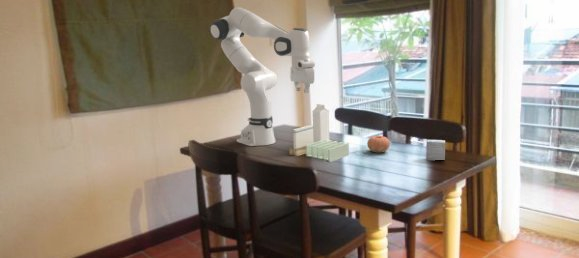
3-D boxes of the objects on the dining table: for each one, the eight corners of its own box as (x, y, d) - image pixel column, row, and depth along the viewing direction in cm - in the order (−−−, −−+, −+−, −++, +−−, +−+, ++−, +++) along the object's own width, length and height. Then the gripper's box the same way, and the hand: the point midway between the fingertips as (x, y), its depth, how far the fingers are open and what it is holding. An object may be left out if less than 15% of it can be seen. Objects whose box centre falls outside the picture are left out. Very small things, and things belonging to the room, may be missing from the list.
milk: (320, 148, 239) (319, 106, 234) (313, 146, 244) (311, 104, 239) (329, 146, 242) (328, 104, 238) (322, 144, 247) (321, 103, 242)
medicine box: (444, 158, 214) (445, 140, 212) (444, 161, 209) (445, 142, 208) (426, 157, 216) (427, 139, 214) (426, 160, 212) (426, 141, 210)
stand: (288, 155, 228) (288, 147, 227) (309, 148, 239) (309, 141, 238) (297, 157, 224) (297, 149, 223) (319, 150, 235) (318, 142, 234)
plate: (293, 153, 227) (293, 129, 225) (311, 148, 236) (310, 124, 234) (296, 154, 226) (295, 129, 223) (313, 148, 235) (313, 125, 233)
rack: (306, 157, 223) (305, 145, 222) (325, 150, 234) (325, 139, 233) (329, 162, 214) (329, 149, 213) (348, 155, 225) (348, 142, 224)
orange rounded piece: (380, 147, 237) (380, 132, 235) (394, 152, 227) (394, 136, 226) (362, 151, 232) (362, 135, 230) (376, 155, 222) (376, 139, 221)
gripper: (286, 62, 232) (287, 90, 234) (303, 64, 213) (305, 94, 216) (298, 61, 234) (299, 89, 237) (316, 63, 215) (317, 93, 218)
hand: (302, 91), depth 226 cm, fingers open, 8 cm apart
